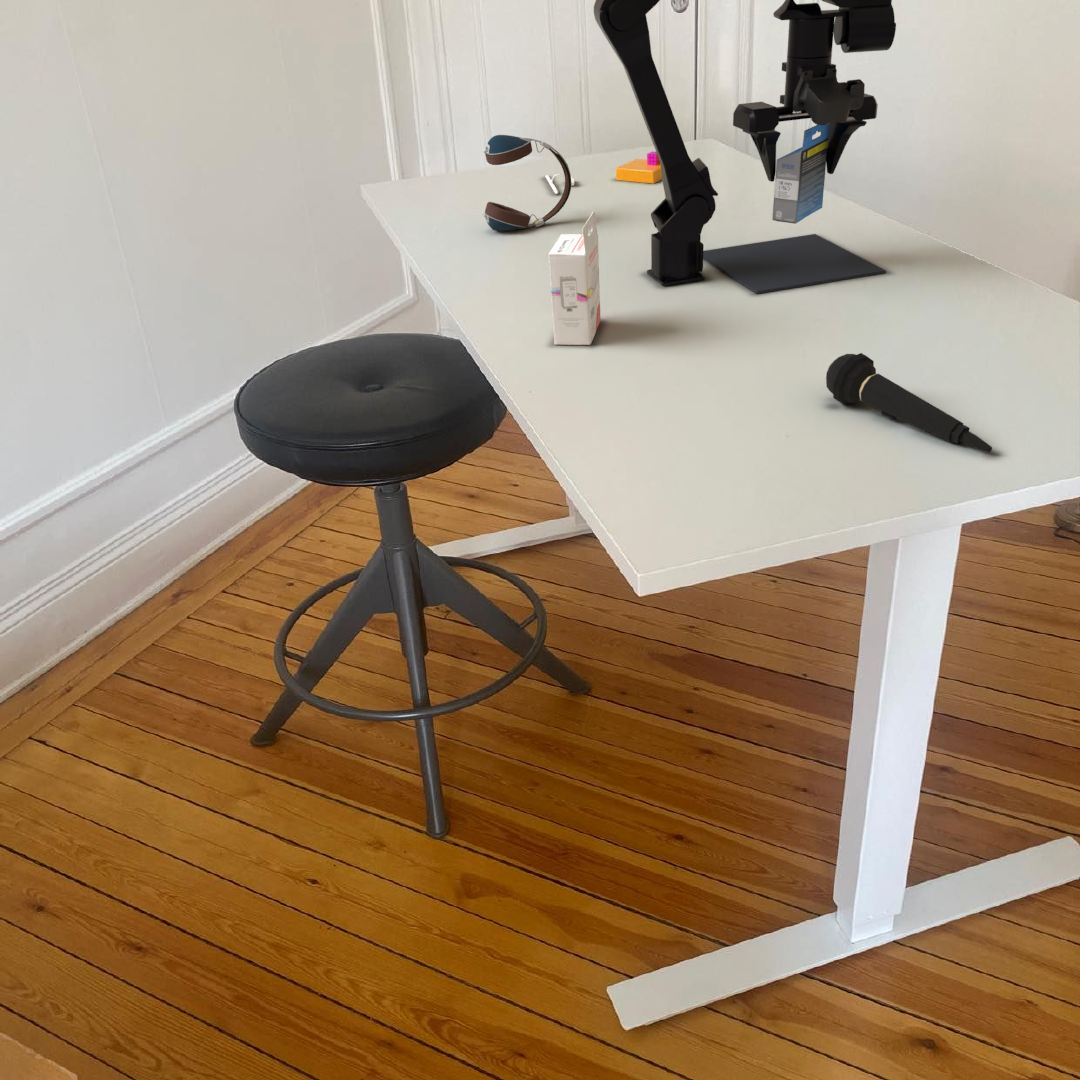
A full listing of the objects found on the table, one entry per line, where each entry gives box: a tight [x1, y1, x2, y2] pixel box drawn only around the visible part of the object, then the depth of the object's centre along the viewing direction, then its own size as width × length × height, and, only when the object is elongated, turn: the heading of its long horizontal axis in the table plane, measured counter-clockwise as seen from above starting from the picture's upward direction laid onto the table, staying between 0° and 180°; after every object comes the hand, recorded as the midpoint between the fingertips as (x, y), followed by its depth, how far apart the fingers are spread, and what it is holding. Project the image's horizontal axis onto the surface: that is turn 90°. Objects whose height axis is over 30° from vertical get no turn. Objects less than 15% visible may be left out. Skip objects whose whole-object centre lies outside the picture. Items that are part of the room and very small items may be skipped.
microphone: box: [825, 352, 993, 454], centre depth 115 cm, size 6×6×20 cm
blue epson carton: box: [771, 123, 831, 224], centre depth 153 cm, size 9×4×12 cm, turn 144°
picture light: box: [545, 173, 575, 195], centre depth 208 cm, size 14×4×2 cm, turn 8°
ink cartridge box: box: [547, 210, 601, 346], centre depth 139 cm, size 9×5×15 cm, turn 168°
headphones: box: [483, 134, 572, 232], centre depth 181 cm, size 6×15×22 cm
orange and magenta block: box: [615, 151, 662, 185], centre depth 209 cm, size 8×8×4 cm
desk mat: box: [703, 233, 887, 295], centre depth 162 cm, size 20×20×1 cm
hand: (800, 177), depth 154 cm, fingers closed on blue epson carton, 9 cm apart
